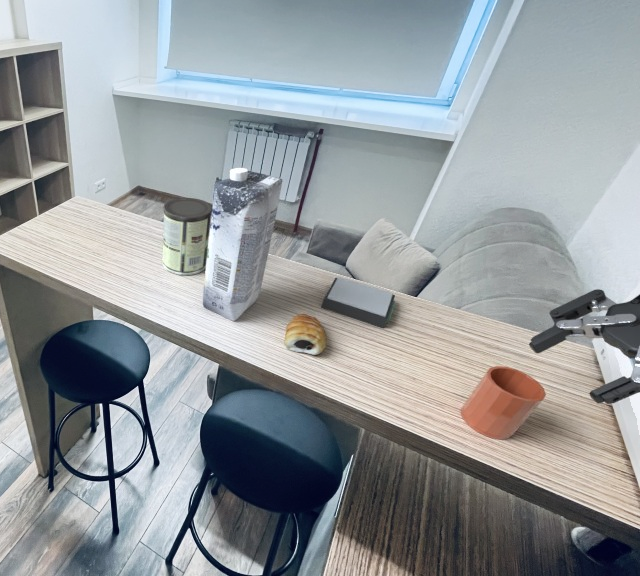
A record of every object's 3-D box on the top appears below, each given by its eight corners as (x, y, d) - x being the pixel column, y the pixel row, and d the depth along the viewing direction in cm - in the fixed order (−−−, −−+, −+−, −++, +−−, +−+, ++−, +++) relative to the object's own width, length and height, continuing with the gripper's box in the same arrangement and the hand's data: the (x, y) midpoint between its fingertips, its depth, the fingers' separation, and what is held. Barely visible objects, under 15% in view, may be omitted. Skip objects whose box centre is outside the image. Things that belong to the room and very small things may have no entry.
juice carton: (262, 301, 82) (291, 169, 66) (235, 327, 75) (260, 188, 60) (223, 285, 87) (242, 158, 71) (195, 308, 80) (209, 174, 65)
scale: (393, 304, 80) (398, 293, 79) (385, 329, 74) (391, 317, 73) (332, 286, 86) (336, 274, 84) (321, 307, 80) (324, 296, 78)
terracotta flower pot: (518, 423, 57) (551, 385, 53) (504, 447, 55) (538, 409, 50) (469, 397, 61) (495, 359, 57) (453, 418, 58) (480, 380, 54)
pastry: (286, 318, 77) (290, 302, 75) (324, 326, 75) (330, 310, 73) (281, 350, 70) (286, 333, 68) (323, 360, 68) (330, 343, 66)
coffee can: (179, 248, 100) (183, 193, 92) (214, 262, 94) (222, 205, 86) (152, 264, 94) (153, 207, 86) (188, 281, 88) (193, 222, 80)
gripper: (644, 246, 51) (506, 322, 57) (806, 320, 39) (611, 404, 45) (653, 280, 54) (522, 347, 60) (806, 357, 42) (624, 431, 48)
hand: (561, 372), depth 53 cm, fingers open, 8 cm apart
